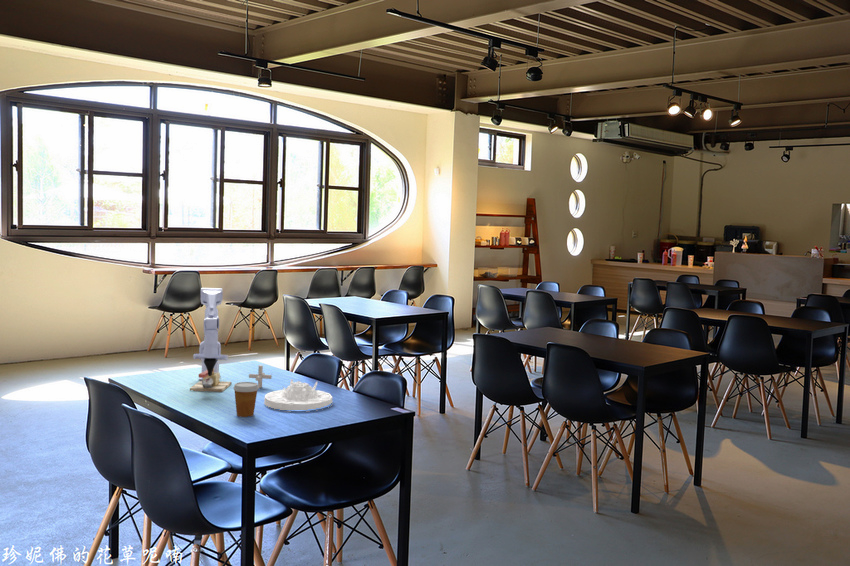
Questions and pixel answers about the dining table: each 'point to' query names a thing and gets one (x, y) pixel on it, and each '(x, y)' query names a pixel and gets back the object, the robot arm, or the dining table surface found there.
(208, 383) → the ball valve
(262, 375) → the pipe connector
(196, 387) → the mounting board
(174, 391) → the dining table surface
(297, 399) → the cake
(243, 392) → the disposable coffee cup
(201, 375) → the lever
